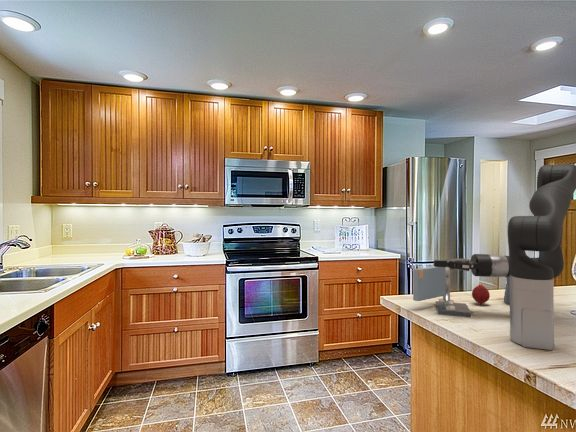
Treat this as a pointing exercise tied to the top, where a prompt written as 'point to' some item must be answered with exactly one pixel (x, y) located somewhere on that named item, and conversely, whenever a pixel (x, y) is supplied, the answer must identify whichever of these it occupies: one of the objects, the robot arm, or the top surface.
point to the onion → (480, 294)
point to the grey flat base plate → (453, 309)
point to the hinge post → (447, 286)
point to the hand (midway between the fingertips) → (434, 263)
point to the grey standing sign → (429, 283)
